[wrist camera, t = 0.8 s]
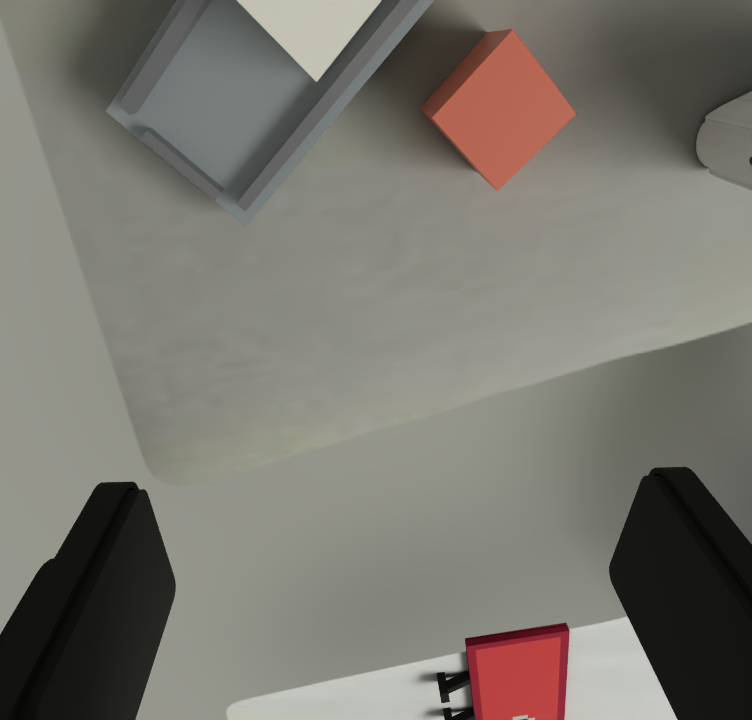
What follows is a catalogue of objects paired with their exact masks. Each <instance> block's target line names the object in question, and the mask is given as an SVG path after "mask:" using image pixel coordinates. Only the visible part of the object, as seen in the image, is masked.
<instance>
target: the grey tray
mask: <svg viewBox="0 0 752 720" xmlns="http://www.w3.org/2000/svg"><path fill="white" fill-rule="evenodd" d="M433 1H434V0H382V1H381V2H380V3H379V5H378V6H377V7H376V8H375V10H374V11H373V12H372V13H371V15H370V16H369V17H368V18H367V20H366V21H365V22H364V24H363V25H362V26H361V27H360V29H359V30H358V31H357V32H356V34H355V35H354V36H353V37H352V39H351V40H350V41H349V42H348V44H347V45H346V46H345V47H344V49H343V50H342V51H341V52H340V54H339V55H338V56H337V58H336V59H335V60H334V61H333V63H332V64H331V65H330V66H329V68H328V69H327V70H326V71H325V73H324V74H323V75H322V76H321V78H320V79H319V80H318V81H317V82H316V81H315V80H314V79H313V78H312V77H311V76H310V75H309V74H308V73H307V72H306V71H305V70H304V69H303V68H302V67H301V66H300V65H299V64H298V63H297V62H296V61H295V60H294V59H293V58H292V56H291V55H290V54H289V53H288V52H287V51H286V50H285V49H284V48H283V47H282V46H281V45H280V44H279V43H278V42H277V41H276V40H275V39H274V38H273V37H272V36H271V35H270V34H269V33H268V32H267V31H266V30H265V29H264V28H263V27H262V26H261V25H260V24H259V23H258V22H257V21H256V20H255V19H254V18H253V17H252V16H251V15H250V14H249V12H248V11H247V10H246V9H245V8H244V7H243V6H242V5H241V4H240V3H239V2H238V1H237V0H176V1H175V3H174V5H173V6H172V8H171V9H170V11H169V12H168V14H167V16H166V17H165V19H164V20H163V22H162V23H161V25H160V27H159V28H158V30H157V31H156V33H155V34H154V36H153V38H152V39H151V41H150V42H149V44H148V45H147V47H146V49H145V50H144V52H143V53H142V55H141V56H140V58H139V60H138V61H137V63H136V64H135V66H134V67H133V69H132V71H131V72H130V74H129V75H128V77H127V78H126V80H125V82H124V83H123V85H122V86H121V88H120V89H119V91H118V93H117V94H116V96H115V97H114V99H113V100H112V102H111V104H110V105H109V107H108V108H107V110H106V112H107V113H108V114H109V115H110V116H112V117H113V118H114V119H115V120H116V121H118V122H119V123H120V124H121V125H123V126H124V127H125V128H126V129H127V130H129V131H130V132H131V133H132V134H133V135H135V136H136V137H137V138H138V139H140V140H141V141H142V142H143V143H144V144H146V145H147V146H148V147H149V148H150V149H152V150H153V151H154V152H155V153H157V154H158V155H159V156H160V157H161V158H163V159H164V160H165V161H166V162H167V163H169V164H170V165H171V166H172V167H174V168H175V169H176V170H177V171H178V172H180V173H181V174H182V175H183V176H184V177H186V178H187V179H188V180H189V181H191V182H192V183H193V184H194V185H195V186H197V187H198V188H199V189H200V190H202V191H203V192H204V193H205V194H206V195H208V196H209V197H210V198H211V199H212V200H214V201H215V202H216V203H217V204H219V205H220V206H221V207H222V208H223V209H225V210H226V211H227V212H228V213H229V214H231V215H232V216H233V217H234V218H236V219H237V220H238V221H239V222H240V223H242V224H243V225H244V226H245V227H246V225H247V224H248V223H249V222H250V221H251V219H252V218H253V217H254V216H255V215H256V213H257V212H258V211H259V210H260V209H261V207H262V206H263V205H264V204H265V203H266V201H267V200H268V199H269V198H270V197H271V195H272V194H273V193H274V192H275V191H276V189H277V188H278V187H279V186H280V185H281V183H282V182H283V181H284V180H285V179H286V177H287V176H288V175H289V174H290V173H291V171H292V170H293V169H294V168H295V167H296V165H297V164H298V163H299V162H300V161H301V159H302V158H303V157H304V156H305V155H306V153H307V152H308V151H309V150H310V149H311V147H312V146H313V145H314V144H315V143H316V141H317V140H318V139H319V138H320V137H321V135H322V134H323V133H324V132H325V131H326V129H327V128H328V127H329V126H330V125H331V123H332V122H333V121H334V120H335V119H336V117H337V116H338V115H339V114H340V113H341V111H342V110H343V109H344V108H345V107H346V105H347V104H348V103H349V102H350V101H351V99H352V98H353V97H354V96H355V95H356V93H357V92H358V91H359V90H360V89H361V87H362V86H363V85H364V84H365V83H366V81H367V80H368V79H369V78H370V77H371V75H372V74H373V73H374V72H375V71H376V69H377V68H378V67H379V66H380V65H381V63H382V62H383V61H384V60H385V59H386V57H387V56H388V55H389V54H390V53H391V52H392V50H393V49H394V48H395V47H396V46H397V44H398V43H399V42H400V41H401V40H402V38H403V37H404V36H405V35H406V34H407V32H408V31H409V30H410V29H411V28H412V26H413V25H414V24H415V23H416V22H417V20H418V19H419V18H420V17H421V16H422V14H423V13H424V12H425V11H426V10H427V8H428V7H429V6H430V5H431V4H432V2H433Z"/></svg>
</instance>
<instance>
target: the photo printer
mask: <svg viewBox="0 0 752 720" xmlns="http://www.w3.org/2000/svg"><path fill="white" fill-rule="evenodd" d="M696 151H697V155H698V158H699V160H700V161H701V162H702V163H703V164H704V165H705V166H707V167H708V168H709V173H710V174H712V175H714V176H715V177H717V178H720V179H723V180H725V181H727V182H730V183H733V184H736V185H738V186H741V187H744V188H746V189H749V190H752V91H751V92H749V93H747V94H745V95H743V96H740V97H738V98H736V99H734V100H732V101H730V102H728V103H726V104H724V105H722V106H720V107H719V108H717V109H715V110H714V111H712V112H710V113H709V114H708V115H706V116H705V122H704V123H703V124H702V125H701V127H700V130H699V132H698V135H697V140H696Z"/></svg>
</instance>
